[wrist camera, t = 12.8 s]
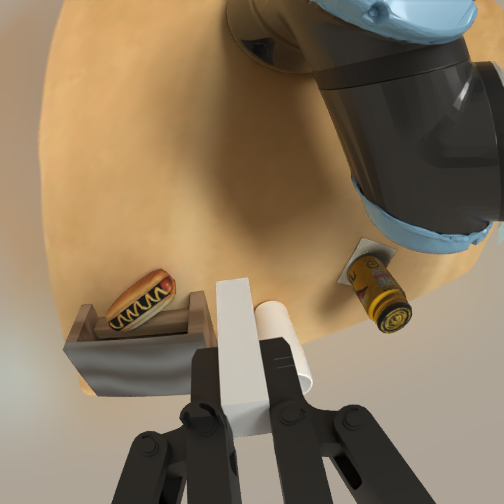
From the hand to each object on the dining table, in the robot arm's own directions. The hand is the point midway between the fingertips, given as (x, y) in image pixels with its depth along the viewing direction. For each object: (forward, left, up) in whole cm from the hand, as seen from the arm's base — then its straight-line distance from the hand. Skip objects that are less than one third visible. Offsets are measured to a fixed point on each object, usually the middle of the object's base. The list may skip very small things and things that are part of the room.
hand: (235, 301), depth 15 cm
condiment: (+18, +20, -25) cm, 37 cm away
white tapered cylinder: (+24, +4, -25) cm, 35 cm away
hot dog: (+17, -15, -25) cm, 33 cm away
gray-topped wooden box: (+24, -16, -24) cm, 38 cm away
